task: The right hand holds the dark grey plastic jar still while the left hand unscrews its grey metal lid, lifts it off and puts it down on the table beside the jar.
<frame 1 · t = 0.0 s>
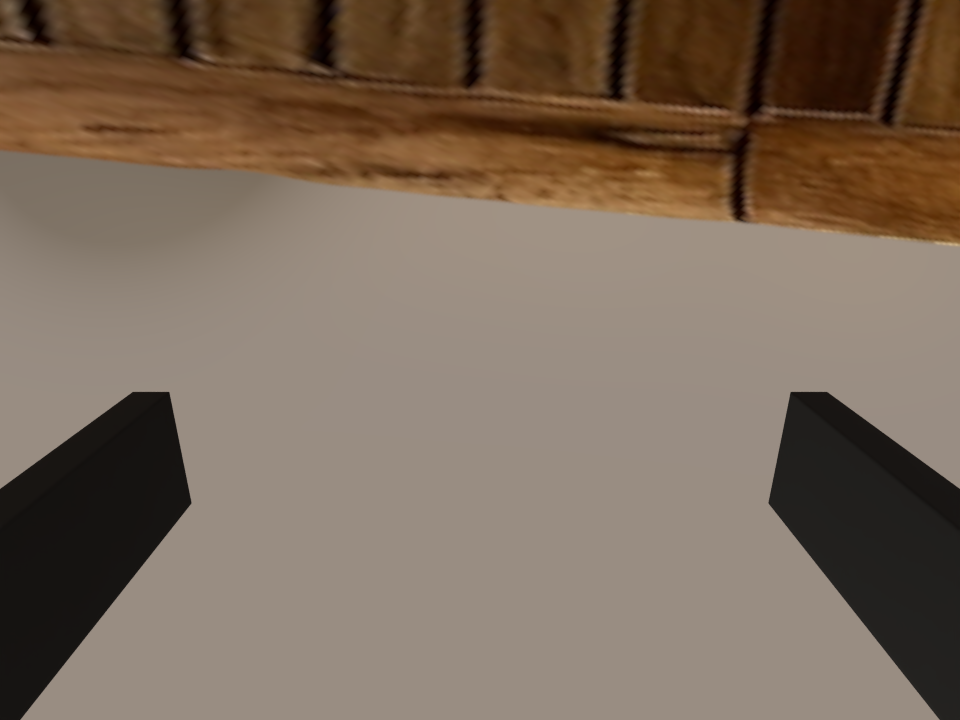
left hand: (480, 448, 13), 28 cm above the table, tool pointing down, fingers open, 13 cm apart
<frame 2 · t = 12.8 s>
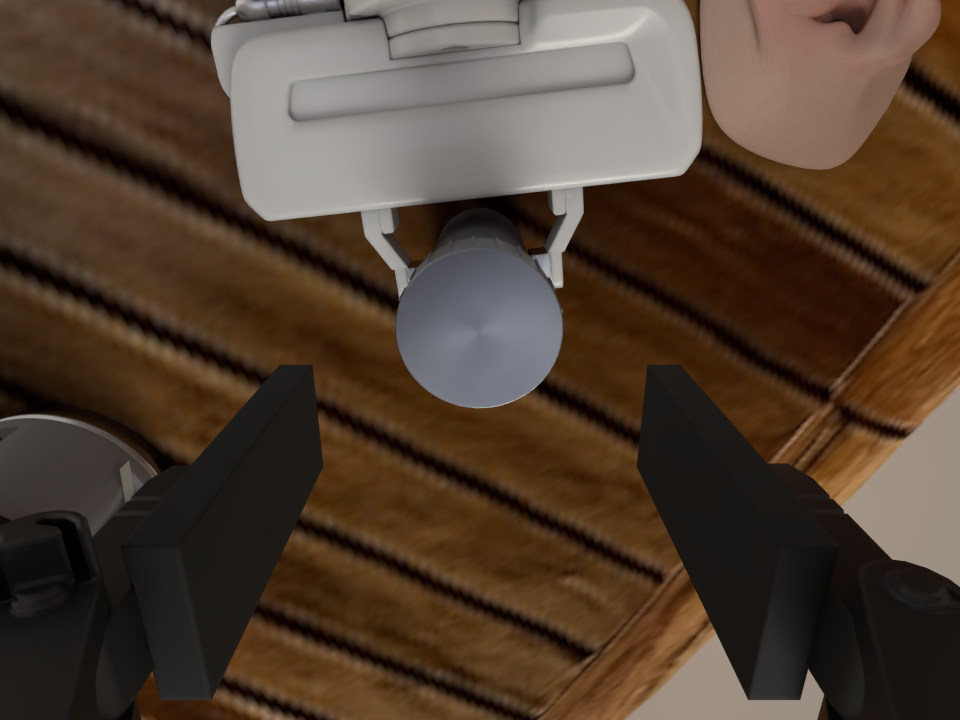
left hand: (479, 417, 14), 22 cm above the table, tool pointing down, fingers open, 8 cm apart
right hand: (482, 293, 29), fingers closed on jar, 5 cm apart
lid: (479, 329, 21), point 15 cm above the table, screwed on, not yet turned
anatomical model: (802, 36, 31), on the table
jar: (479, 251, 35), on the table, touching right hand
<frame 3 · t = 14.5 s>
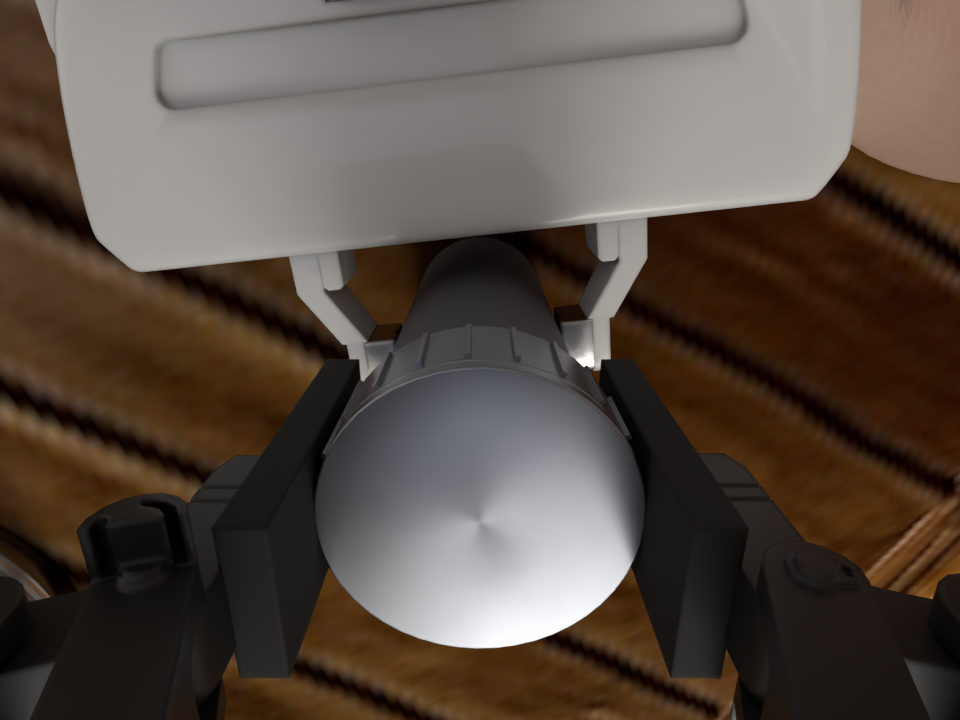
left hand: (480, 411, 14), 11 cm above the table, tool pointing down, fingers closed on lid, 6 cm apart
right hand: (484, 375, 19), fingers closed on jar, 5 cm apart
lid: (480, 510, 11), point 15 cm above the table, screwed on, not yet turned, touching left hand
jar: (480, 297, 25), on the table, touching right hand
when the left hand's fingers open (11 cm above the table, at t = 15.9 s): lid stays where it is, point 16 cm above the table.
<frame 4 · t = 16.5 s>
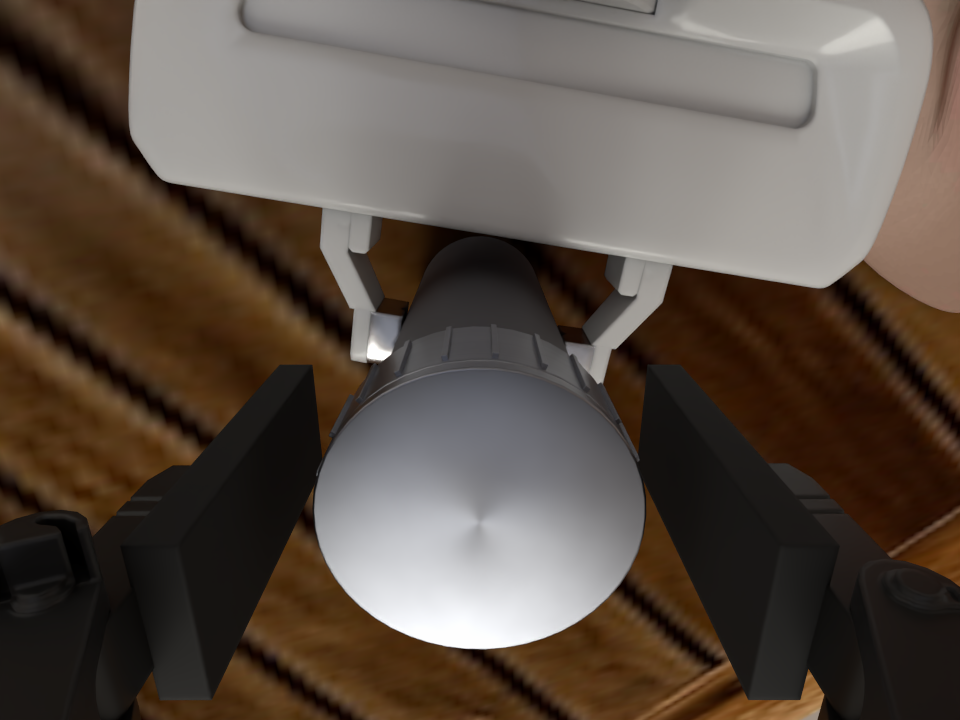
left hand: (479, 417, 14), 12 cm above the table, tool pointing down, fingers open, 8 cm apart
right hand: (476, 373, 19), fingers closed on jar, 5 cm apart
lid: (479, 511, 11), point 16 cm above the table, turned 72° so far, risen 0.2 cm, still on its thread
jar: (479, 295, 25), on the table, touching right hand
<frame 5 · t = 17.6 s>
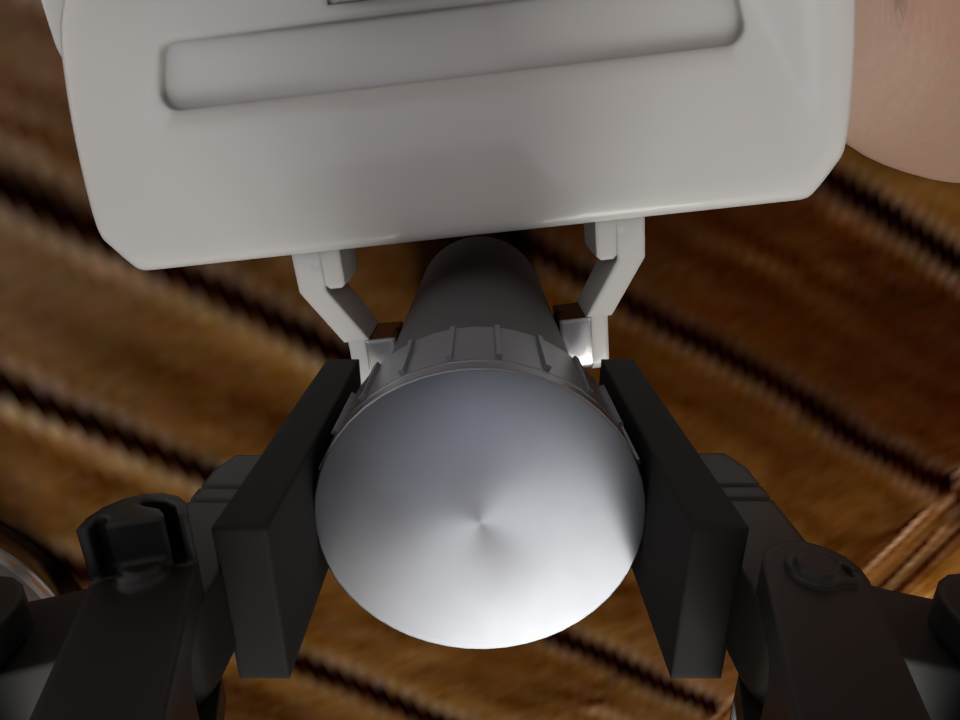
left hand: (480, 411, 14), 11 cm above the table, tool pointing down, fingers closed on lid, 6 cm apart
right hand: (484, 373, 19), fingers closed on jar, 5 cm apart
lid: (480, 511, 11), point 16 cm above the table, turned 72° so far, risen 0.2 cm, still on its thread, touching left hand
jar: (480, 295, 25), on the table, touching right hand
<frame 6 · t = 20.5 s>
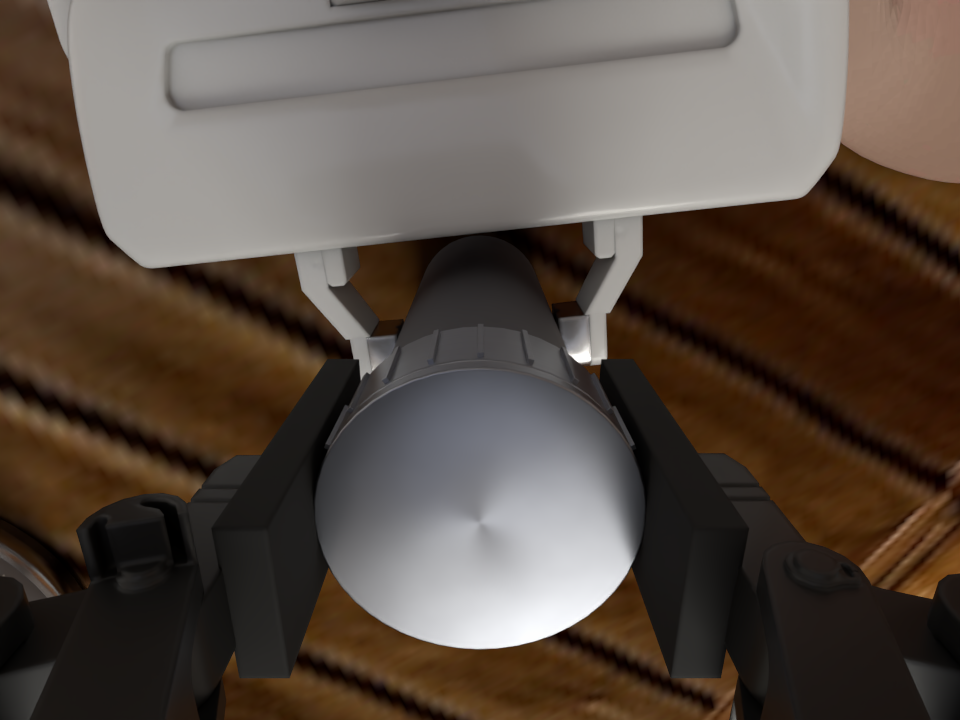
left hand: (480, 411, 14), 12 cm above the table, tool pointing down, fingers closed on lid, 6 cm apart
right hand: (484, 370, 19), fingers closed on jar, 5 cm apart
lid: (480, 511, 11), point 16 cm above the table, turned 143° so far, risen 0.5 cm, still on its thread, touching left hand
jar: (480, 294, 25), on the table, touching right hand
when the left hand's fingers open (0 cm above the table, at t = 26.7 s): lid drops 2 cm, point 2 cm above the table.
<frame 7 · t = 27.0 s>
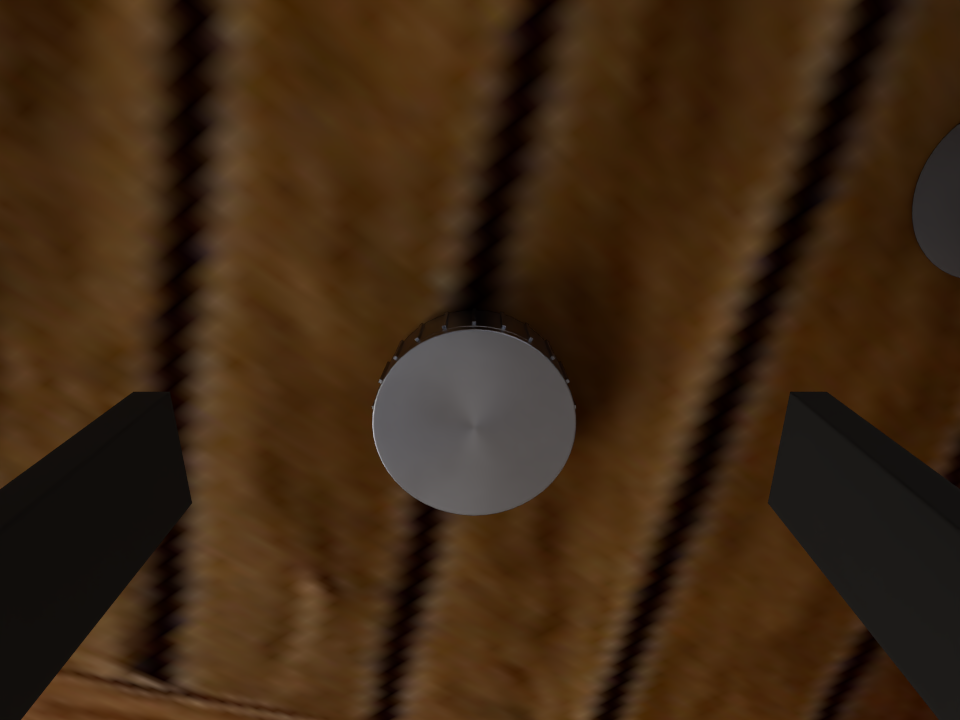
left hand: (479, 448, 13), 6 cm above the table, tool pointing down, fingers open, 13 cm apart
lid: (474, 422, 17), point 2 cm above the table, off its thread
when the right hand's fingers open (7 cm above the table, at t = 27.3 s): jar stays where it is, on the table.
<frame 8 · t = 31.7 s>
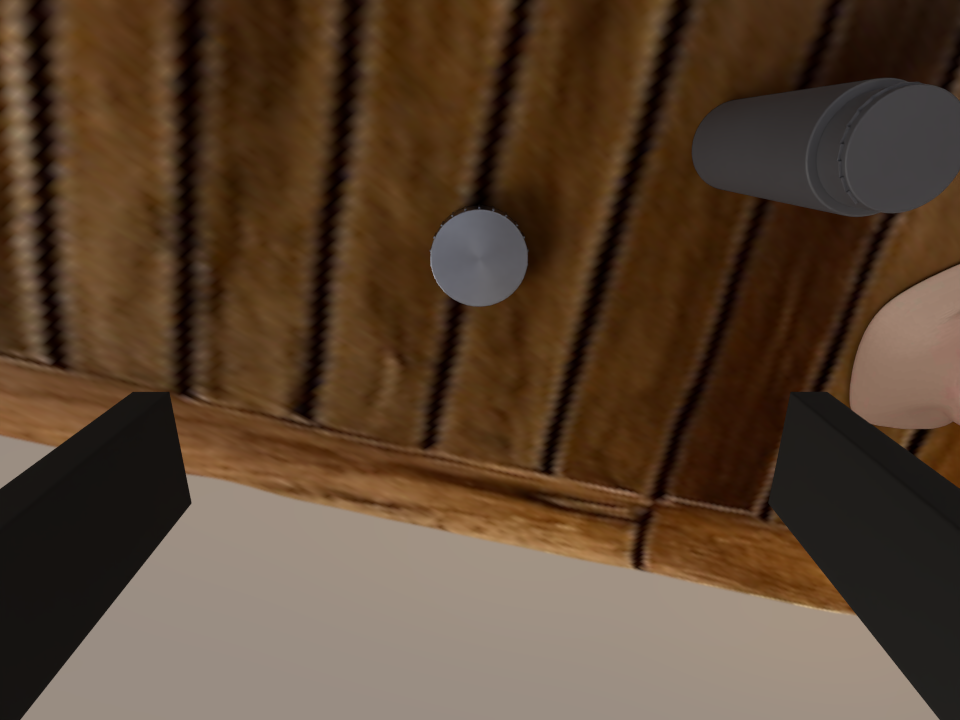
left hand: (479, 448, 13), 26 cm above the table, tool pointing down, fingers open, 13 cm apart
lid: (479, 258, 36), point 2 cm above the table, off its thread
anatomical model: (945, 346, 39), on the table
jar: (734, 145, 35), on the table
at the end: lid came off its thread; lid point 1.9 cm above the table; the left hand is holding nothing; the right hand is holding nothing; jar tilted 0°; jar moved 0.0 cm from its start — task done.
